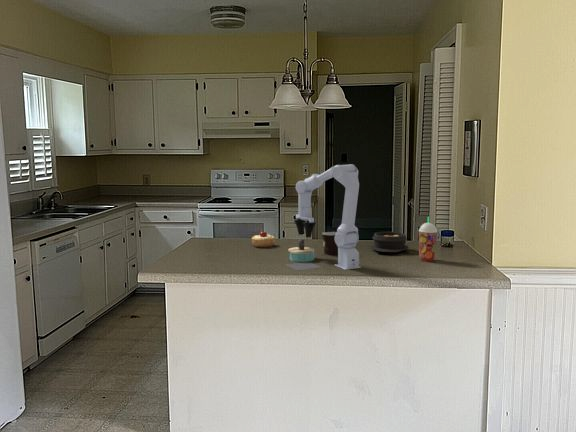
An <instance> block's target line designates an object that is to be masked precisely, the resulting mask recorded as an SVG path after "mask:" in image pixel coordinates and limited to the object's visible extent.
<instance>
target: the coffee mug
mask: <svg viewBox="0 0 576 432" xmlns="http://www.w3.org/2000/svg"><path fill="white" fill-rule="evenodd" d="M336 233H337V231H331V232H330V231H327V232H322V234H321V236H322V244H323V254H325V255H328V256H338V247H337V245H336V243H335V235H336Z"/></svg>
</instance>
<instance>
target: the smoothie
mask: <svg viewBox="0 0 576 432" xmlns="http://www.w3.org/2000/svg"><path fill="white" fill-rule="evenodd" d="M417 231H418V245H419V246H418V251H419V252H418V253H419V258H420V260H421V261H422V262H426V263H428V262H429V263H430V262H434V261H435V258H436V250H437V239H438V229H437V227H436V226H435V224H433V223H431V222H430V216H427V222H424V223H422V224H421V225H420V227H419V229H418V230H417Z"/></svg>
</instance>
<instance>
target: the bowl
mask: <svg viewBox="0 0 576 432" xmlns="http://www.w3.org/2000/svg"><path fill="white" fill-rule="evenodd" d="M289 260H290V261H292V262H295V263H296V262H297V263H304V262H312V261H315V251H314V252H313V253H309V254H294V253H290V252H289Z"/></svg>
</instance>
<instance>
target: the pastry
mask: <svg viewBox="0 0 576 432" xmlns="http://www.w3.org/2000/svg"><path fill="white" fill-rule="evenodd" d="M275 239H276V238H275V236H274V235H271V234H269V233H268V232H266V231H263V229H262V228H261V231H260V232H259V234H258V235H257V234H256V235H253V236H252V237H251V243H252V246H254V247H255V248H262V247H264V248H271V247H273V246H274V244H275V242H276V240H275Z"/></svg>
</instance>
